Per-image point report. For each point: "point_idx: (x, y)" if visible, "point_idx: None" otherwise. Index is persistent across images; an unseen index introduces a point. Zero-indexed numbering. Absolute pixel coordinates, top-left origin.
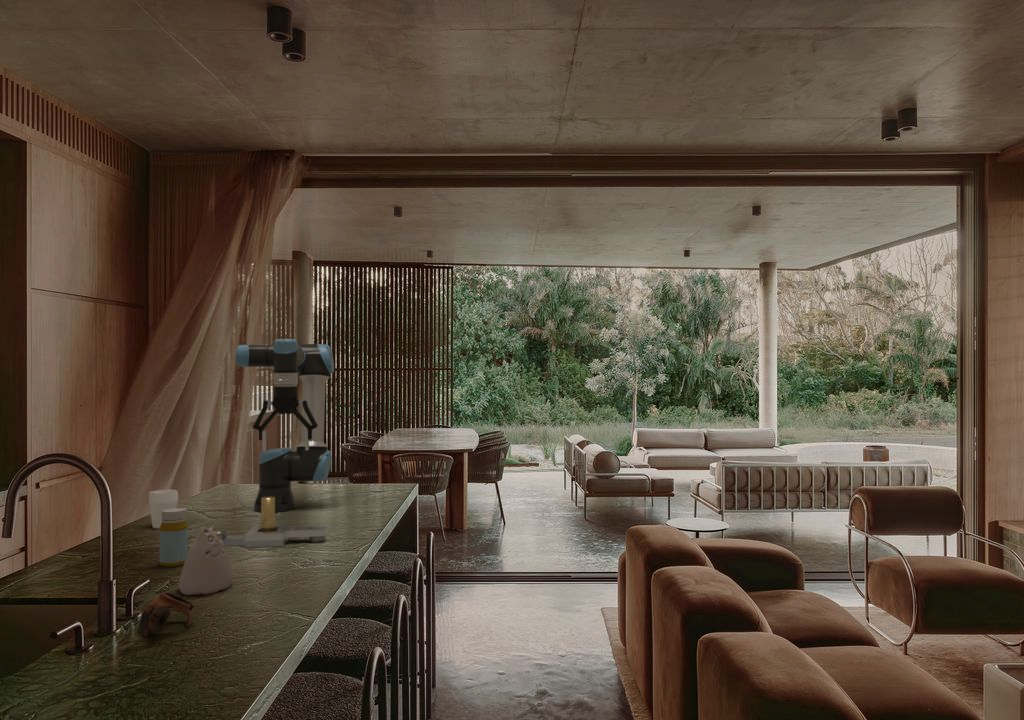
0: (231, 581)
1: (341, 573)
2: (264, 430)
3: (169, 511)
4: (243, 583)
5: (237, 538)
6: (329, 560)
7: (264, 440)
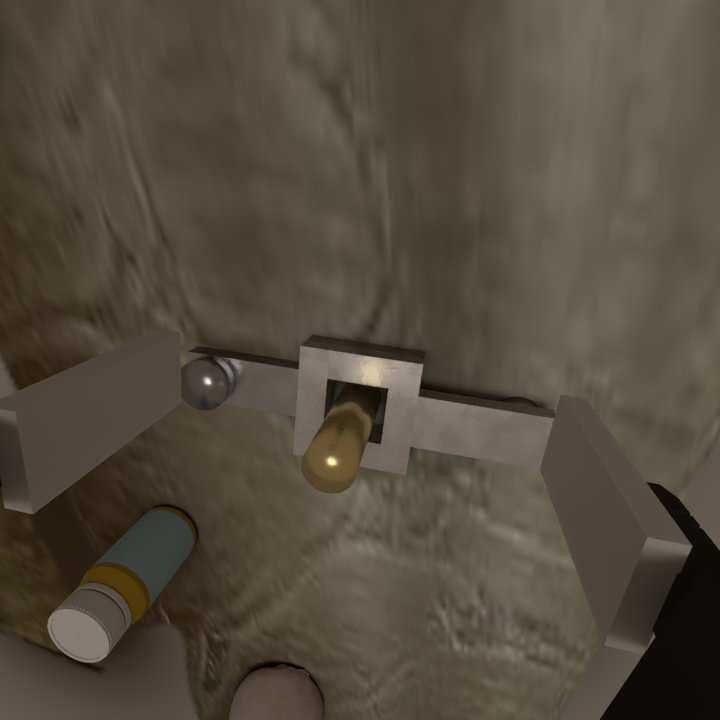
0: (322, 714)
1: (544, 716)
2: (8, 452)
3: (73, 646)
4: (344, 698)
5: (271, 406)
6: (529, 621)
7: (119, 448)
